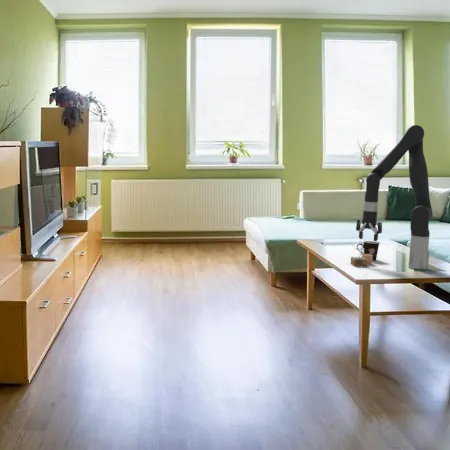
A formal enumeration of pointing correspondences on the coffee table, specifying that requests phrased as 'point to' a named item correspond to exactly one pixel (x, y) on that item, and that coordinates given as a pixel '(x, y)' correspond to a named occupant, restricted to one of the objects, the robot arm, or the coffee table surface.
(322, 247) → the coffee table surface
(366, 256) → the terracotta cube
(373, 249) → the coffee mug
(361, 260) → the walnut box
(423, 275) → the coffee table surface
